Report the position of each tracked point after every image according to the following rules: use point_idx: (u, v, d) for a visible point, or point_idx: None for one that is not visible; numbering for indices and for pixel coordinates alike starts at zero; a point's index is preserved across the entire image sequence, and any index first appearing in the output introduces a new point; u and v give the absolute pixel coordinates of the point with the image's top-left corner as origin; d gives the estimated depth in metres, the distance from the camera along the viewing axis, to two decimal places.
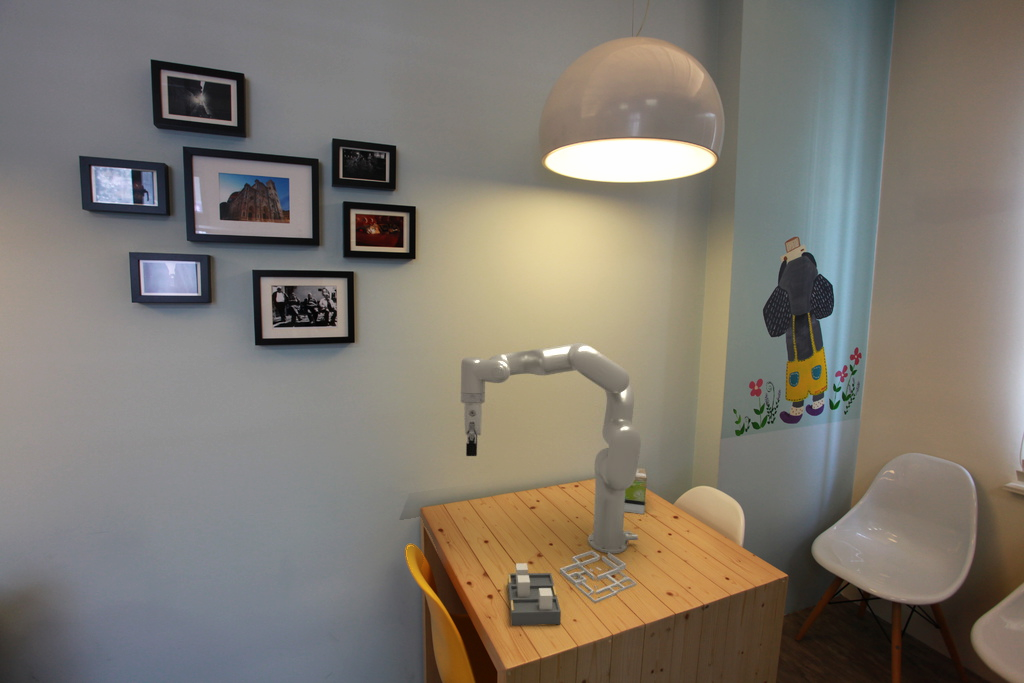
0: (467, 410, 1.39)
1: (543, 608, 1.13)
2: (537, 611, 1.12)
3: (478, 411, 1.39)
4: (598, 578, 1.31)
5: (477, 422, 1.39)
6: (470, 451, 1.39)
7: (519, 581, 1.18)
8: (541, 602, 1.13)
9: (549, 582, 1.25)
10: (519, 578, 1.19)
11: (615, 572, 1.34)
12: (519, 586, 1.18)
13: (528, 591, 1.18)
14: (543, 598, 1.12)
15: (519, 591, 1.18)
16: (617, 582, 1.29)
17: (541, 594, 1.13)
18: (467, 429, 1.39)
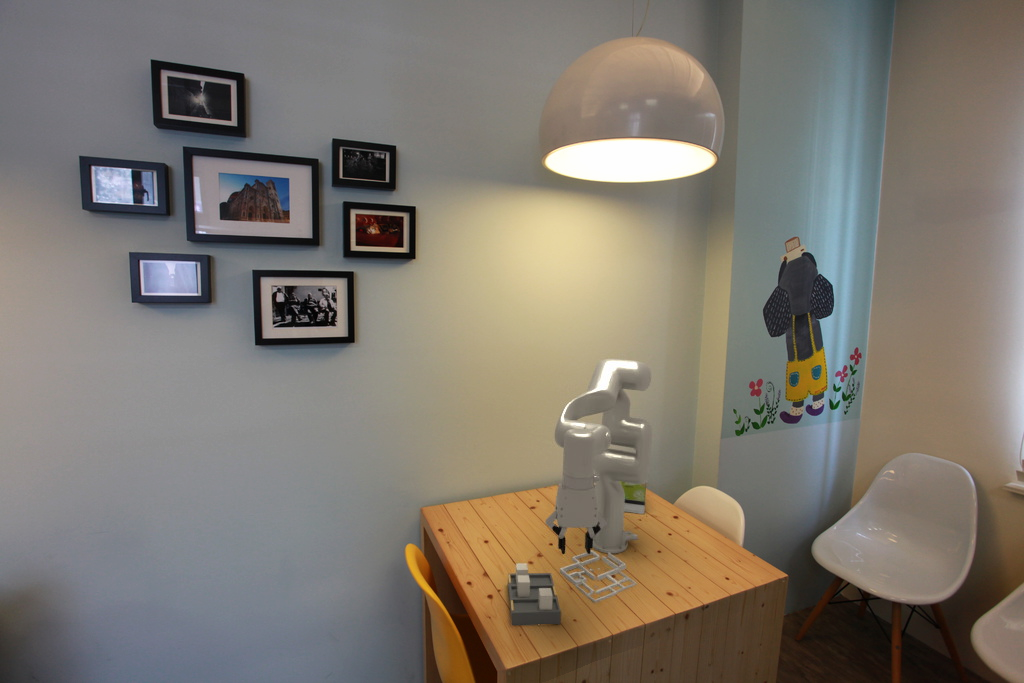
0: (596, 495, 1.11)
1: (543, 608, 1.13)
2: (537, 611, 1.12)
3: None
4: (598, 578, 1.31)
5: None
6: None
7: (519, 581, 1.18)
8: (541, 602, 1.13)
9: (549, 582, 1.25)
10: (519, 578, 1.19)
11: (615, 572, 1.34)
12: (519, 586, 1.18)
13: (528, 591, 1.18)
14: (543, 598, 1.12)
15: (519, 591, 1.18)
16: (617, 582, 1.29)
17: (541, 594, 1.13)
18: None
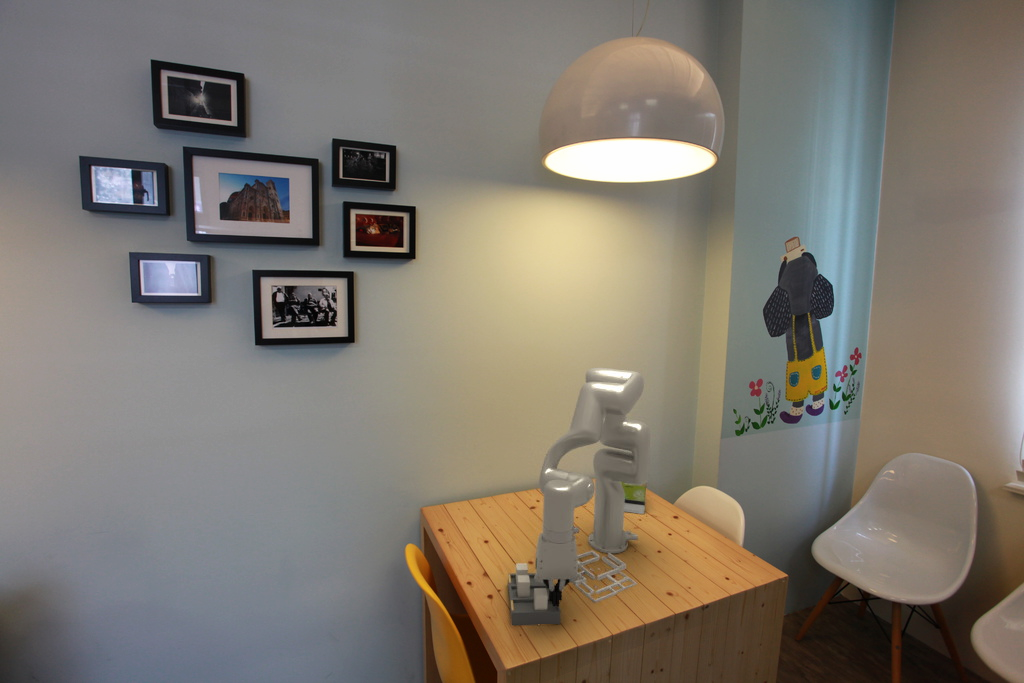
0: (576, 547, 1.12)
1: (539, 608, 1.13)
2: (537, 611, 1.12)
3: None
4: (598, 578, 1.31)
5: None
6: None
7: (519, 581, 1.18)
8: (536, 602, 1.12)
9: None
10: (519, 578, 1.19)
11: (615, 572, 1.34)
12: (519, 586, 1.18)
13: (528, 591, 1.18)
14: (538, 598, 1.12)
15: (519, 591, 1.18)
16: (617, 582, 1.29)
17: (536, 594, 1.13)
18: None
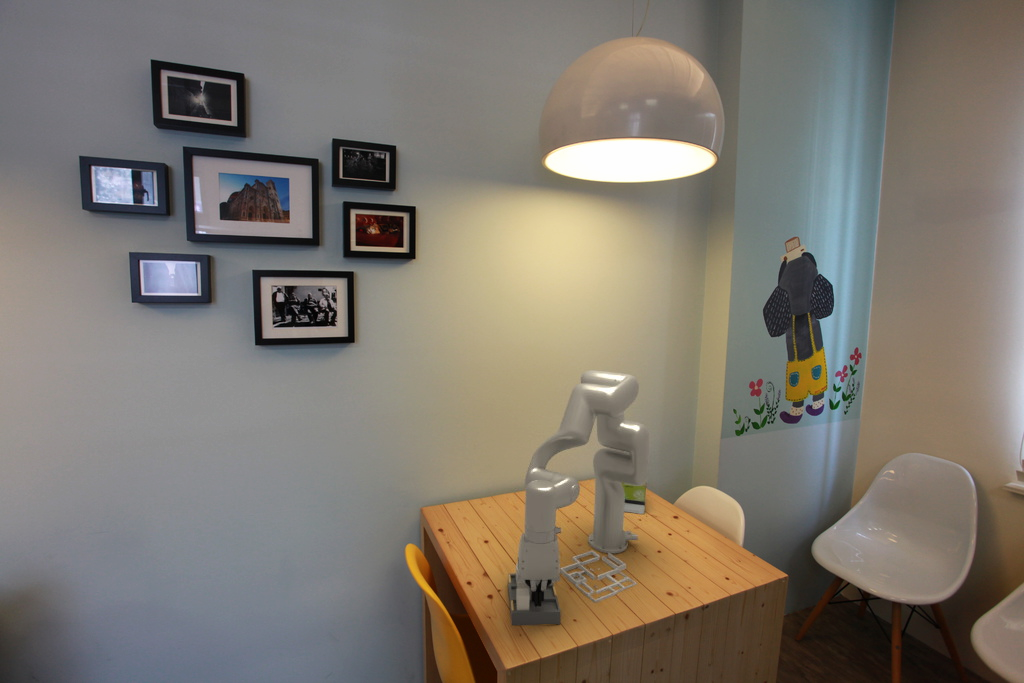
0: (558, 547, 1.12)
1: (520, 609, 1.12)
2: (537, 611, 1.12)
3: None
4: (598, 578, 1.31)
5: None
6: None
7: None
8: (518, 602, 1.12)
9: None
10: None
11: (615, 572, 1.34)
12: (519, 586, 1.18)
13: None
14: (520, 598, 1.12)
15: None
16: (617, 582, 1.29)
17: (518, 594, 1.13)
18: None
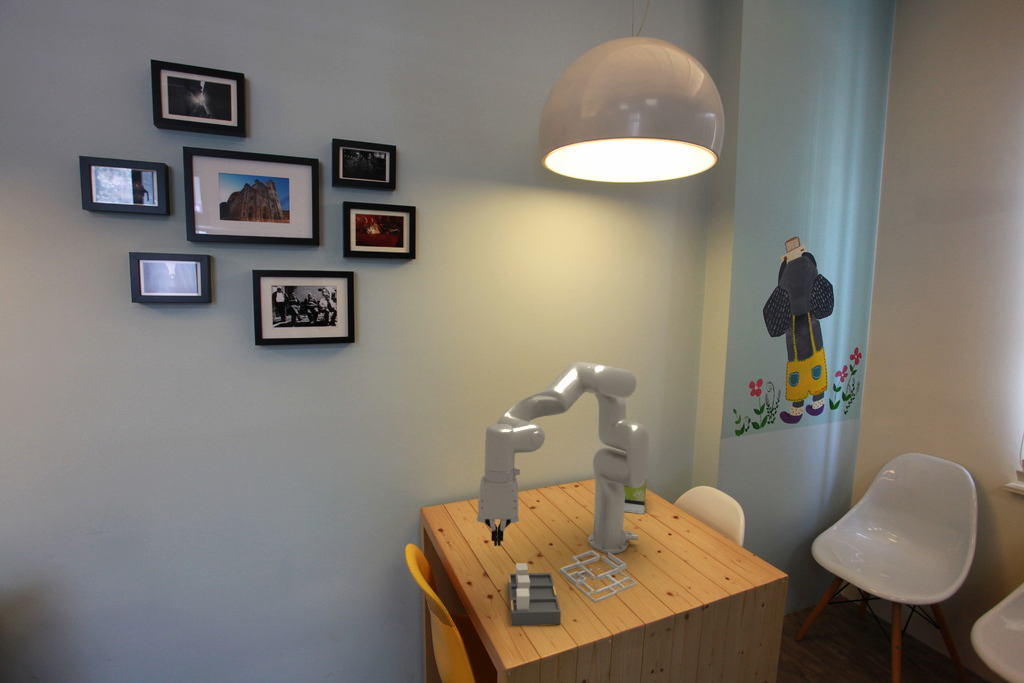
0: (516, 488, 1.15)
1: (520, 609, 1.12)
2: (537, 611, 1.12)
3: None
4: (598, 578, 1.31)
5: None
6: None
7: (519, 581, 1.18)
8: (518, 602, 1.12)
9: (549, 582, 1.25)
10: (519, 578, 1.19)
11: (615, 572, 1.34)
12: (519, 586, 1.18)
13: None
14: (520, 598, 1.12)
15: None
16: (617, 582, 1.29)
17: (518, 594, 1.13)
18: None
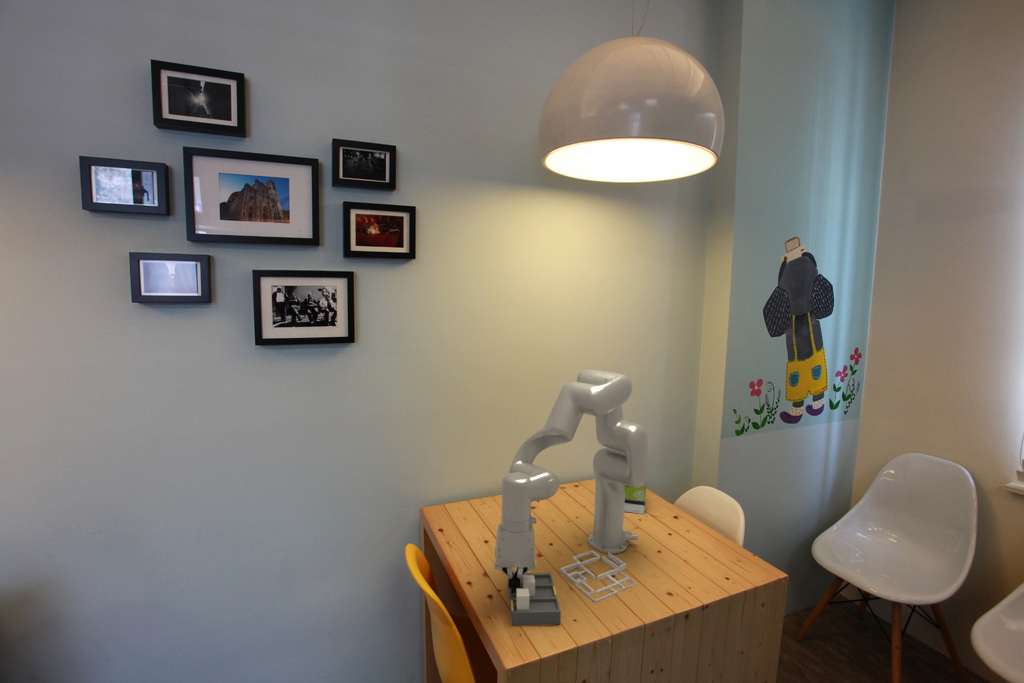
0: (533, 536, 1.17)
1: (520, 609, 1.12)
2: (537, 611, 1.12)
3: None
4: (598, 578, 1.31)
5: None
6: (519, 584, 1.19)
7: (524, 581, 1.18)
8: (518, 602, 1.12)
9: (549, 582, 1.25)
10: (524, 578, 1.19)
11: (615, 572, 1.34)
12: (524, 586, 1.18)
13: (533, 591, 1.18)
14: (520, 598, 1.12)
15: None
16: (617, 582, 1.29)
17: (518, 594, 1.13)
18: None
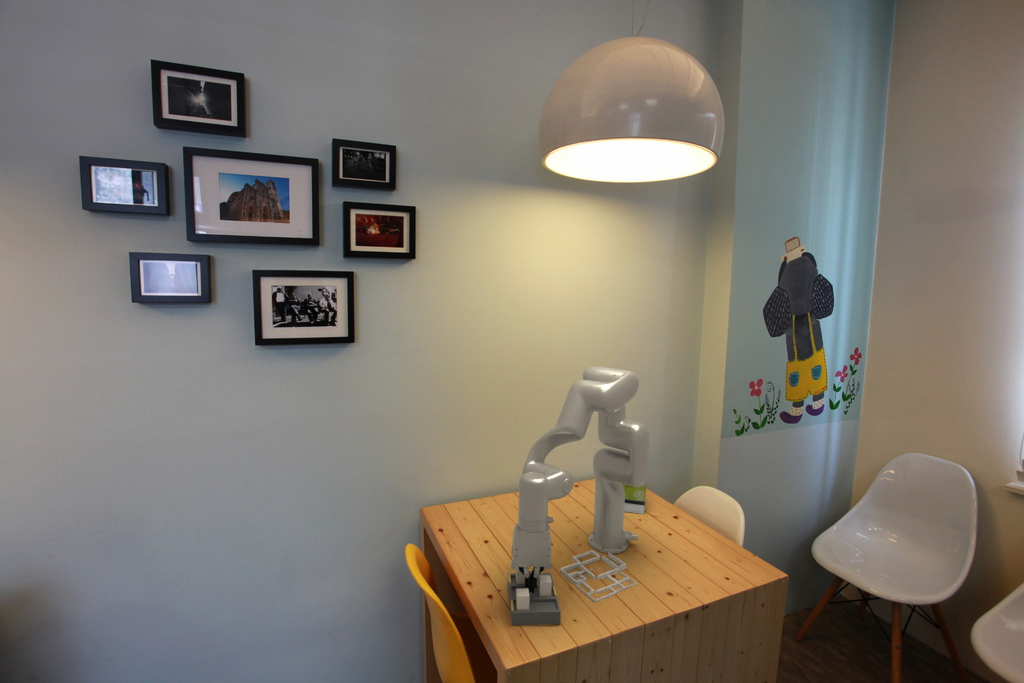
0: (550, 536, 1.17)
1: (520, 609, 1.12)
2: (537, 611, 1.12)
3: None
4: (598, 578, 1.31)
5: None
6: None
7: (541, 581, 1.18)
8: (518, 602, 1.12)
9: None
10: (540, 578, 1.20)
11: (615, 572, 1.34)
12: (541, 586, 1.18)
13: (550, 591, 1.18)
14: (520, 598, 1.12)
15: (541, 591, 1.18)
16: (617, 582, 1.29)
17: (518, 594, 1.13)
18: None
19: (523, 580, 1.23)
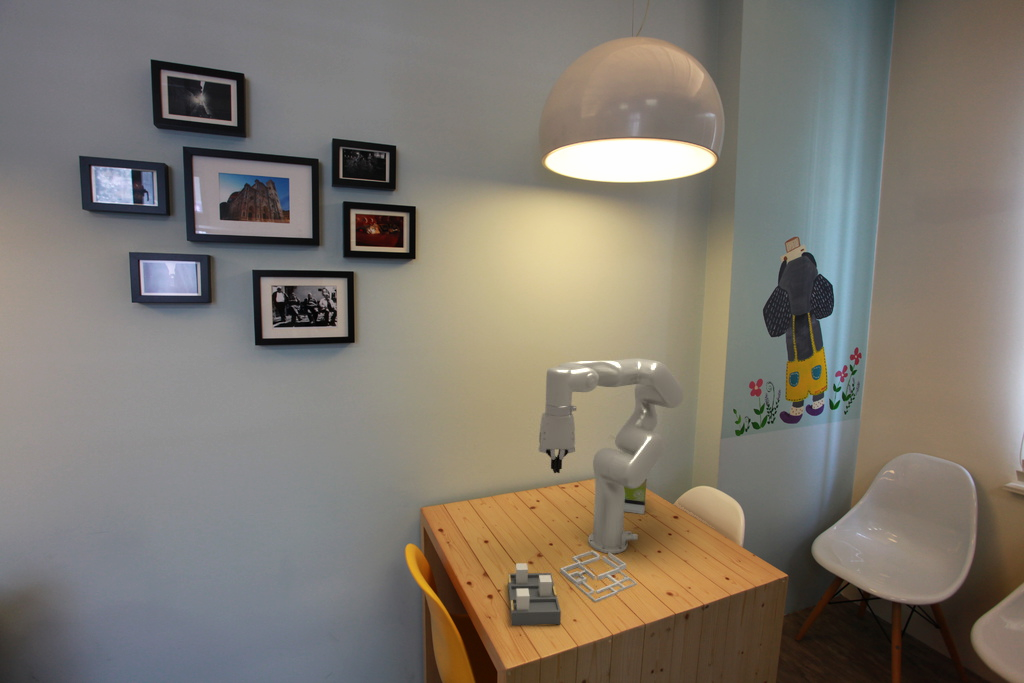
0: None
1: (520, 609, 1.12)
2: (537, 611, 1.12)
3: None
4: (598, 578, 1.31)
5: None
6: None
7: (541, 581, 1.18)
8: (518, 602, 1.12)
9: None
10: (541, 578, 1.20)
11: (615, 572, 1.34)
12: (541, 586, 1.18)
13: (550, 591, 1.18)
14: (520, 598, 1.12)
15: (541, 591, 1.18)
16: (617, 582, 1.29)
17: (518, 594, 1.13)
18: None
19: (523, 580, 1.23)
